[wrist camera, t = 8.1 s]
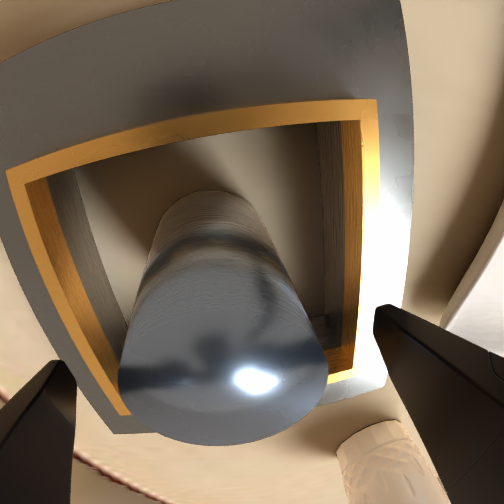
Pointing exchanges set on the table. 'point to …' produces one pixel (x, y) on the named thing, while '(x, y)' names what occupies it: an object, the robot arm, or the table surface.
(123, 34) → the grey and gold frame
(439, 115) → the table surface
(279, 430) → the can
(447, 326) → the salad plate
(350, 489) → the white cup
